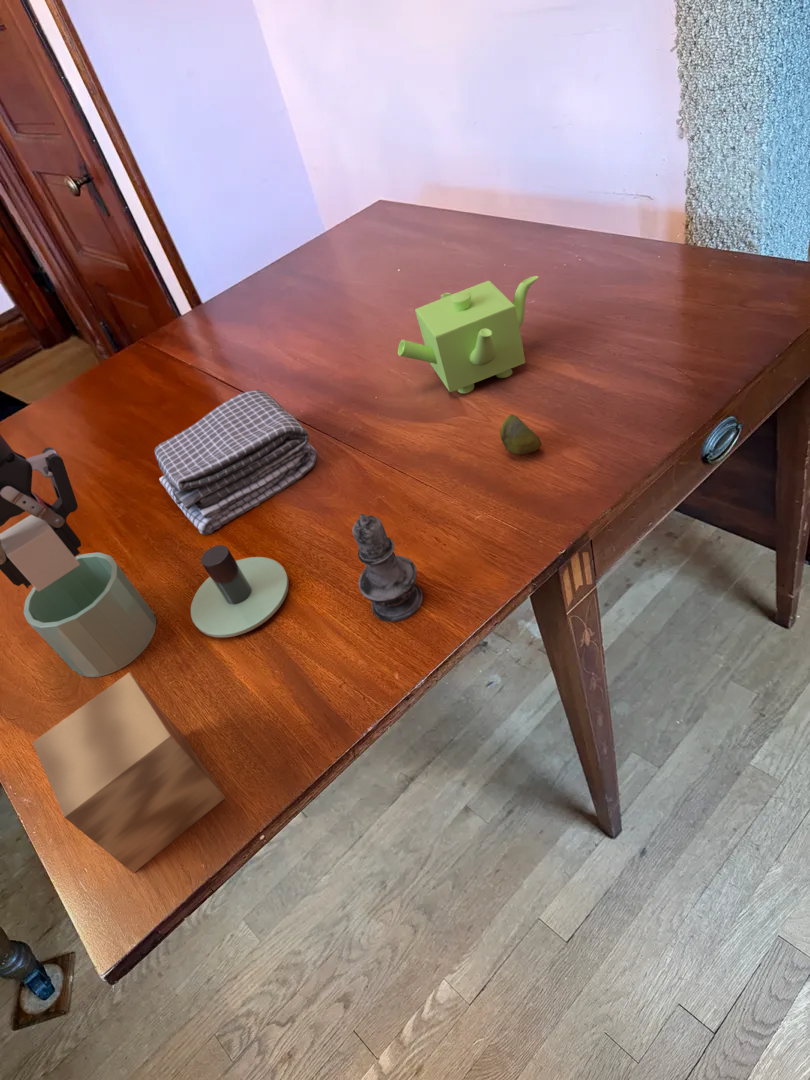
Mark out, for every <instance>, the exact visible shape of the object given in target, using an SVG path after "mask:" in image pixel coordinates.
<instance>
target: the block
mask: <svg viewBox="0 0 810 1080" xmlns="http://www.w3.org/2000/svg"><path fill="white" fill-rule="evenodd" d="M0 540H1V544H2V547H3V550H4V552H5V553H6V555H7V557H8V558H9V559H10V560H11V561H12V563H13V564H14V565H15V566H16V567H17V568H18V569H19V570H20V572H21V573H22V574H23V575H24V576H25V577H26V578H27V579H28V581H29V582H30V583H31V584H32V585H31V586H33V587H35V588H36V590H37V591H41V590H42V589H44V588H45V587H47V586H48V585H50V584H51V583H53V582H54V581H56V580H57V579H59V578H61V577H62V576H64V575H65V574H67V573H68V572H70V571H71V570H73V569H74V568H76V567H77V566H79V565H80V563H79V562H78V561H77V559H76V558H75V557H76V556H75V557H74V555H73V554H72V553H71V552H70V550H69V549H68V548H67V547H66V545H65V544H64V543H63V542H62V540H61V539H60V538H59V537H58V535H57V534H56V533H55V532H54V530H53V529H52V527H51V526H50V524H48V523H47V522H45V521H43V520H42V519H40V518H37V517H35V516H33V515H32V514H29V515H28V516H26V517H25V518H23V519H21V520H20V521H18V522H17V523H15V524H14V525H12V526H10V527H9V528H6V530H3V531H2V532H0Z"/></svg>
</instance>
